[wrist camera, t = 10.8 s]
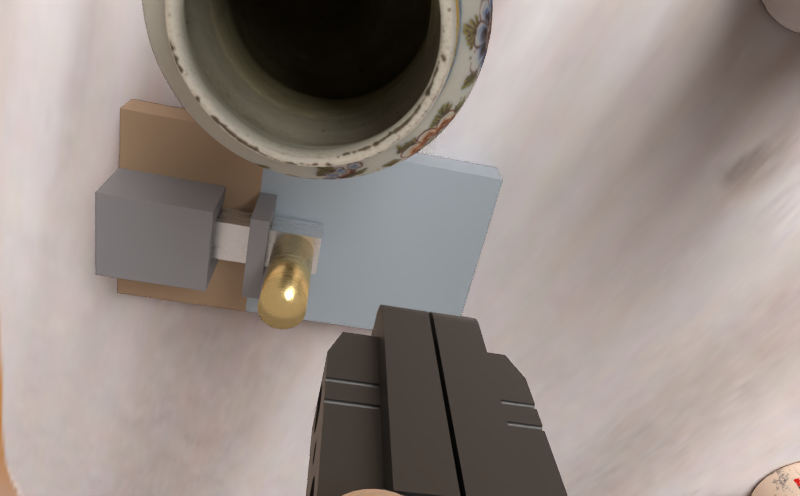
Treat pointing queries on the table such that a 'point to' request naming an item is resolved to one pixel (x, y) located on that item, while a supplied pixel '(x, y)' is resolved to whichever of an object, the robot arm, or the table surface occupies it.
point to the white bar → (274, 261)
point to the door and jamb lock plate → (291, 198)
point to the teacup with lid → (780, 482)
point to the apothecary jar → (321, 76)
